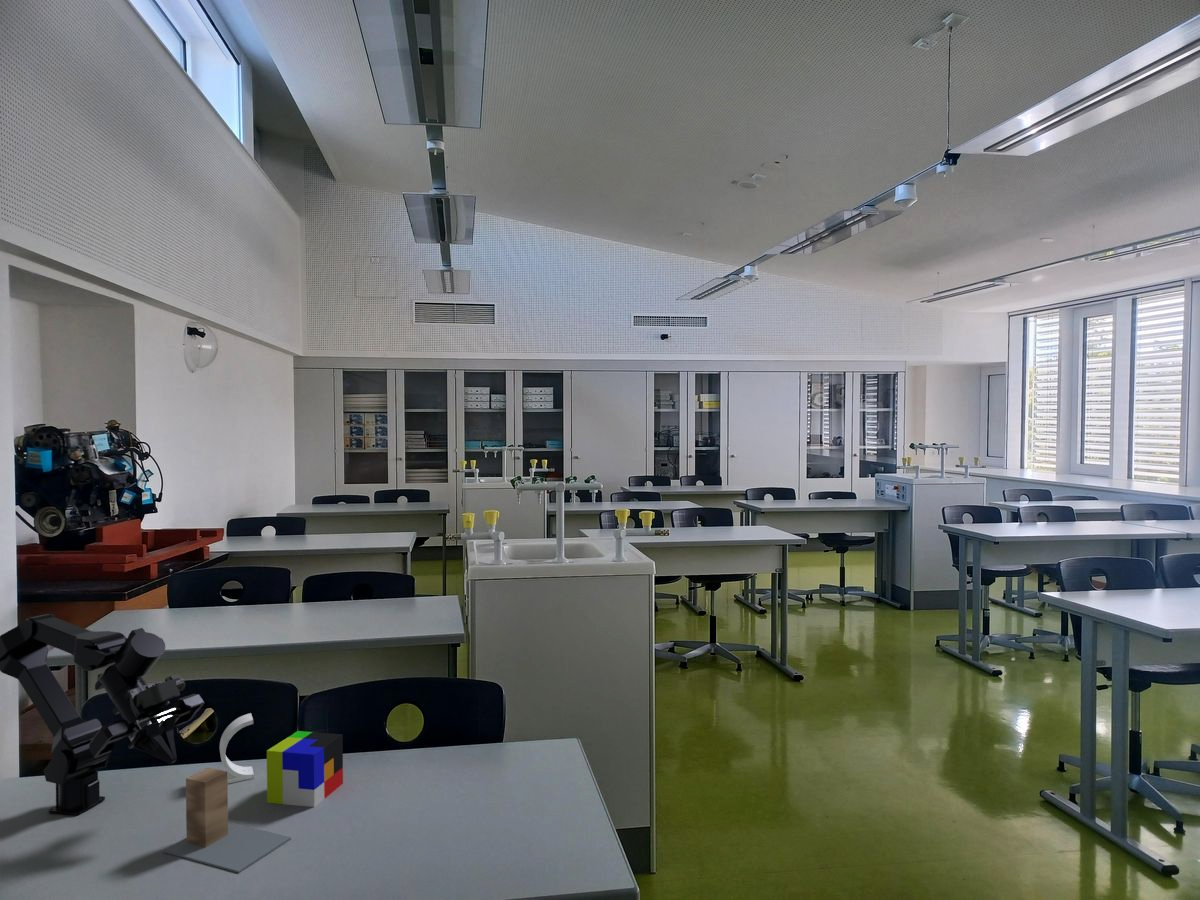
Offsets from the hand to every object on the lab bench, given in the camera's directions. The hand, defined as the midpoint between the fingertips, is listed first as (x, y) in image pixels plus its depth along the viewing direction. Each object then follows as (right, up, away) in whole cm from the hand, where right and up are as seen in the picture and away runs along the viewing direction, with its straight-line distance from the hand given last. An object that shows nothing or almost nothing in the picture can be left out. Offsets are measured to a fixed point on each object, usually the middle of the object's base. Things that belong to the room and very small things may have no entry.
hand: (173, 761), depth 132 cm
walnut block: (+7, -12, -3) cm, 15 cm away
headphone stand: (+1, -12, +22) cm, 25 cm away
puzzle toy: (+18, -12, +15) cm, 26 cm away
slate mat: (+12, -12, -5) cm, 18 cm away
